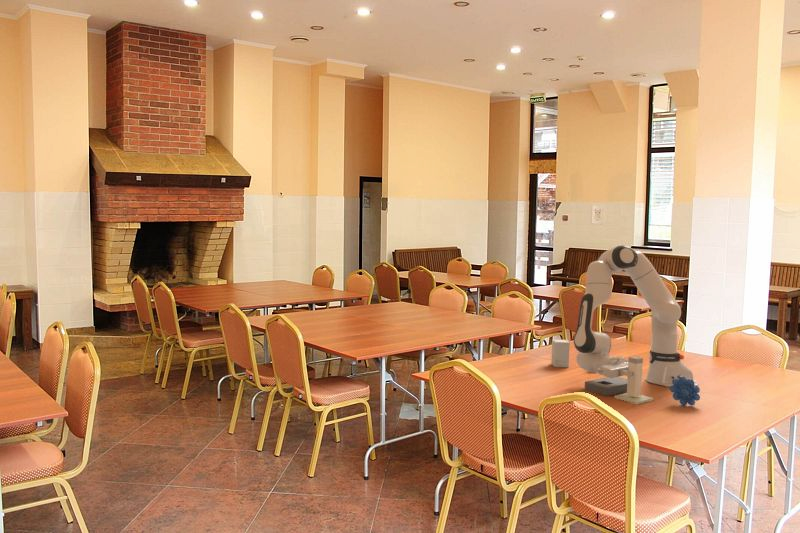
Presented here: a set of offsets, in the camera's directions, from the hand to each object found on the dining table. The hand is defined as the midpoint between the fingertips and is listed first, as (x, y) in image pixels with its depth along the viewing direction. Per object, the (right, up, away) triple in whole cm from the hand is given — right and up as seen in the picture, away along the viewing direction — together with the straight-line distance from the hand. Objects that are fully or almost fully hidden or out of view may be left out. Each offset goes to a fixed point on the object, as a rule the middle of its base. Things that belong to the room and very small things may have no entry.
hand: (636, 373), depth 283 cm
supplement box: (-18, -6, +59) cm, 62 cm away
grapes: (+17, -12, -6) cm, 22 cm away
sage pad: (-1, -11, +2) cm, 11 cm away
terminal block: (-6, -10, +16) cm, 20 cm away
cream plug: (-1, -9, +2) cm, 10 cm away
